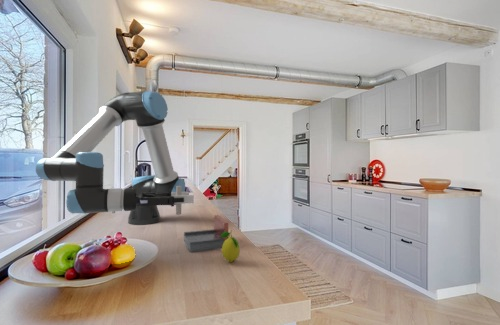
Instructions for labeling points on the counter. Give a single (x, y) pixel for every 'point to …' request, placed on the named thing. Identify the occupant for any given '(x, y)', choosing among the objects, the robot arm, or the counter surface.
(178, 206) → the pipe connector
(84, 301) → the counter surface
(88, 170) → the robot arm
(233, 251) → the lemon
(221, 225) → the grey shallow tray
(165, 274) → the counter surface
